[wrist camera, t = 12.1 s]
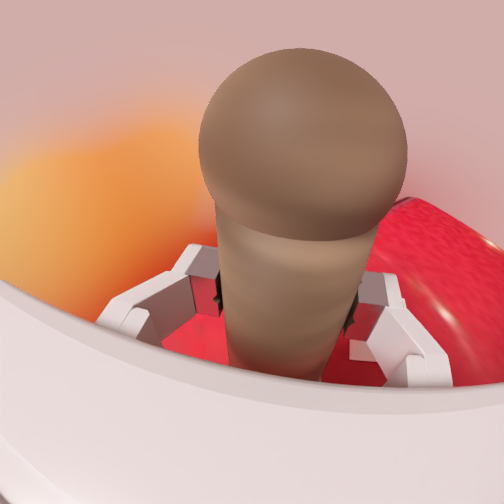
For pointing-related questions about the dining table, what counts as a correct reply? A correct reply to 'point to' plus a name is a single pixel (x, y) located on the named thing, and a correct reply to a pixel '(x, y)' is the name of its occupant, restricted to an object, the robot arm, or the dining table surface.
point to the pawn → (297, 201)
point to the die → (363, 348)
